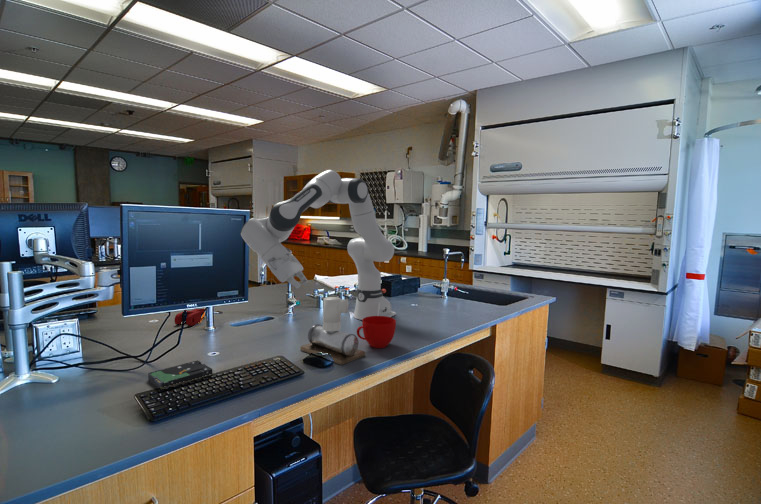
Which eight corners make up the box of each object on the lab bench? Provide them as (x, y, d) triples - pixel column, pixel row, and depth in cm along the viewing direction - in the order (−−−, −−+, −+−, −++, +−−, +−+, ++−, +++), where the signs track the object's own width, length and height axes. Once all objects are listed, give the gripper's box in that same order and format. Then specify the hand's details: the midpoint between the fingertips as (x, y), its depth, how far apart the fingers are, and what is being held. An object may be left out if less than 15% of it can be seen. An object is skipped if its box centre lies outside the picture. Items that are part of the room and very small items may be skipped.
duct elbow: (325, 325, 146) (325, 296, 145) (348, 327, 146) (348, 297, 144) (321, 330, 140) (321, 300, 139) (345, 332, 139) (345, 301, 138)
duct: (324, 342, 155) (325, 312, 154) (364, 355, 142) (365, 323, 141) (300, 350, 146) (300, 318, 144) (341, 365, 133) (342, 330, 131)
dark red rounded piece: (190, 327, 171) (189, 315, 170) (174, 326, 172) (174, 314, 171) (210, 317, 186) (210, 307, 186) (196, 316, 187) (196, 306, 187)
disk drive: (197, 368, 128) (147, 381, 117) (197, 359, 128) (147, 372, 117) (213, 377, 122) (161, 392, 110) (213, 368, 121) (161, 382, 110)
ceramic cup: (346, 345, 152) (347, 320, 151) (380, 338, 163) (381, 314, 162) (367, 355, 142) (368, 328, 141) (402, 346, 153) (402, 321, 152)
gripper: (272, 253, 131) (301, 284, 131) (290, 248, 151) (315, 275, 152) (259, 266, 132) (288, 296, 132) (279, 259, 152) (304, 286, 152)
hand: (303, 285), depth 142 cm, fingers open, 8 cm apart
